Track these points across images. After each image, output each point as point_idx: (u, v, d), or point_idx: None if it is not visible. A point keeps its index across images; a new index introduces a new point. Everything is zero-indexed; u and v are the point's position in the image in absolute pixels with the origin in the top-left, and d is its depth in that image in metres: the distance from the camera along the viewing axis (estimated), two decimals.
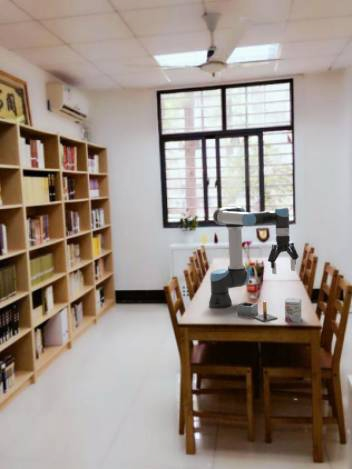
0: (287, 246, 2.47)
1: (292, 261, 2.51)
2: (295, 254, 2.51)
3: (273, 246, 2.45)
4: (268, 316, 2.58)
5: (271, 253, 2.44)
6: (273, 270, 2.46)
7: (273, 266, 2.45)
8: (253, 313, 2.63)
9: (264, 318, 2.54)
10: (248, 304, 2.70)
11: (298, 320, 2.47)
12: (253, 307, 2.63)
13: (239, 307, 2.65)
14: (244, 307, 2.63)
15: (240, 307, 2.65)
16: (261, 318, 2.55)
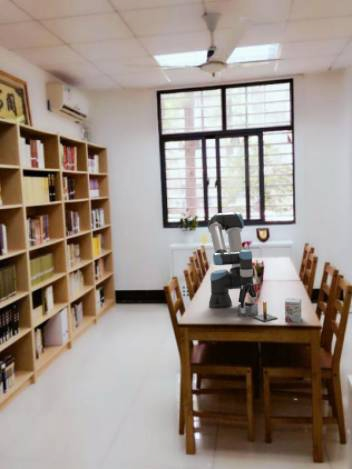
0: (251, 285, 2.66)
1: (252, 299, 2.71)
2: (254, 292, 2.72)
3: (242, 287, 2.60)
4: (268, 316, 2.58)
5: (241, 294, 2.59)
6: (242, 309, 2.61)
7: (243, 306, 2.60)
8: (253, 313, 2.63)
9: (264, 318, 2.54)
10: (248, 304, 2.70)
11: (298, 320, 2.47)
12: (253, 307, 2.63)
13: (239, 307, 2.65)
14: None
15: (240, 307, 2.65)
16: (261, 318, 2.55)
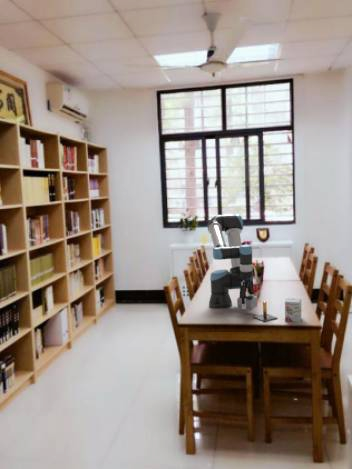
0: (250, 280, 2.66)
1: None
2: (252, 288, 2.71)
3: (241, 283, 2.60)
4: (268, 316, 2.58)
5: (241, 290, 2.60)
6: (243, 305, 2.63)
7: (244, 302, 2.62)
8: (252, 306, 2.64)
9: (264, 318, 2.54)
10: (247, 297, 2.70)
11: (298, 320, 2.47)
12: (252, 300, 2.63)
13: (239, 300, 2.65)
14: None
15: (240, 300, 2.65)
16: (261, 318, 2.55)
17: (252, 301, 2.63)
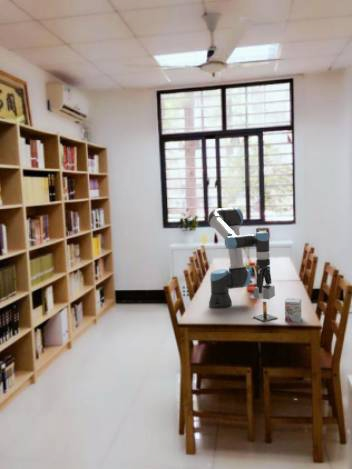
0: (267, 269, 2.54)
1: None
2: (269, 278, 2.59)
3: (258, 271, 2.48)
4: (268, 316, 2.58)
5: (258, 278, 2.48)
6: (260, 295, 2.51)
7: (261, 291, 2.50)
8: (270, 295, 2.51)
9: (264, 318, 2.54)
10: (264, 287, 2.58)
11: (298, 320, 2.47)
12: (270, 289, 2.51)
13: (255, 289, 2.53)
14: None
15: (256, 289, 2.53)
16: (261, 318, 2.55)
17: (270, 290, 2.51)
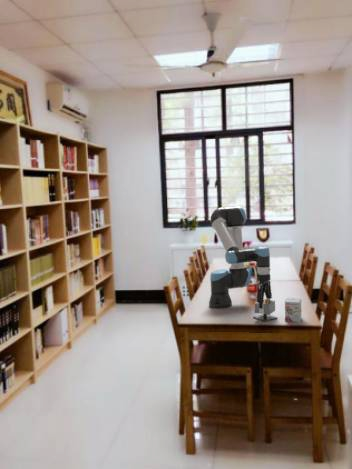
0: (268, 284, 2.55)
1: None
2: (270, 292, 2.60)
3: (259, 287, 2.49)
4: (268, 316, 2.58)
5: (259, 294, 2.49)
6: (261, 310, 2.52)
7: (261, 306, 2.51)
8: (271, 311, 2.52)
9: (264, 318, 2.54)
10: (265, 301, 2.59)
11: (298, 320, 2.47)
12: (271, 304, 2.52)
13: (256, 304, 2.54)
14: None
15: (257, 304, 2.54)
16: (261, 318, 2.55)
17: (270, 305, 2.52)
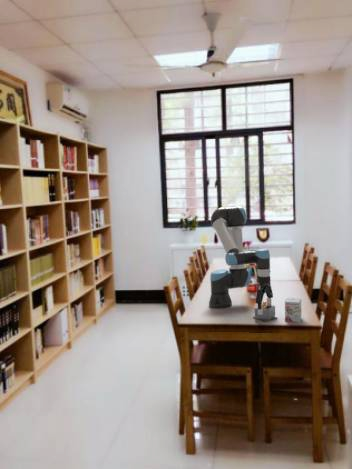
0: (268, 286, 2.55)
1: (269, 299, 2.61)
2: (271, 292, 2.62)
3: (259, 287, 2.49)
4: None
5: (258, 295, 2.49)
6: (259, 311, 2.51)
7: (260, 307, 2.50)
8: (271, 316, 2.53)
9: None
10: None
11: (298, 320, 2.47)
12: (271, 310, 2.53)
13: (256, 310, 2.55)
14: None
15: (257, 310, 2.54)
16: None
17: (270, 310, 2.52)
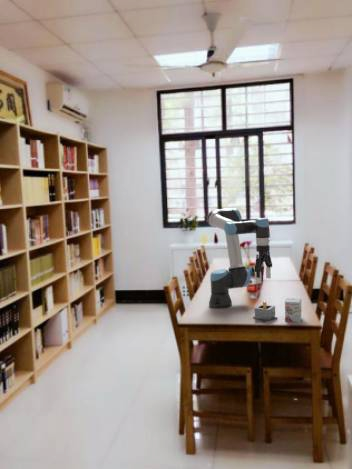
0: (267, 255, 2.55)
1: (268, 269, 2.61)
2: (270, 262, 2.61)
3: (258, 256, 2.49)
4: None
5: (257, 263, 2.48)
6: (258, 279, 2.50)
7: (259, 275, 2.49)
8: (271, 316, 2.53)
9: None
10: None
11: (298, 320, 2.47)
12: (271, 310, 2.53)
13: (256, 310, 2.55)
14: (261, 310, 2.53)
15: (257, 310, 2.54)
16: None
17: (270, 310, 2.52)
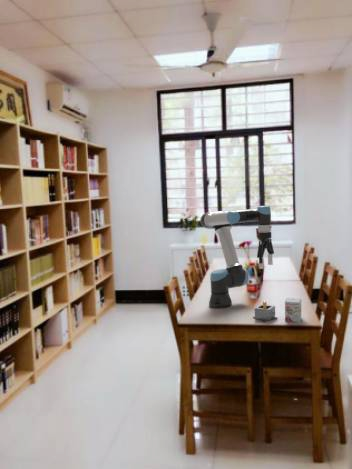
0: (269, 242, 2.63)
1: (270, 256, 2.69)
2: (272, 249, 2.70)
3: (260, 242, 2.58)
4: None
5: (259, 249, 2.57)
6: (261, 265, 2.59)
7: (261, 261, 2.58)
8: (271, 316, 2.53)
9: None
10: None
11: (298, 320, 2.47)
12: (271, 310, 2.53)
13: (256, 310, 2.55)
14: (261, 310, 2.53)
15: (257, 310, 2.54)
16: None
17: (270, 310, 2.52)
